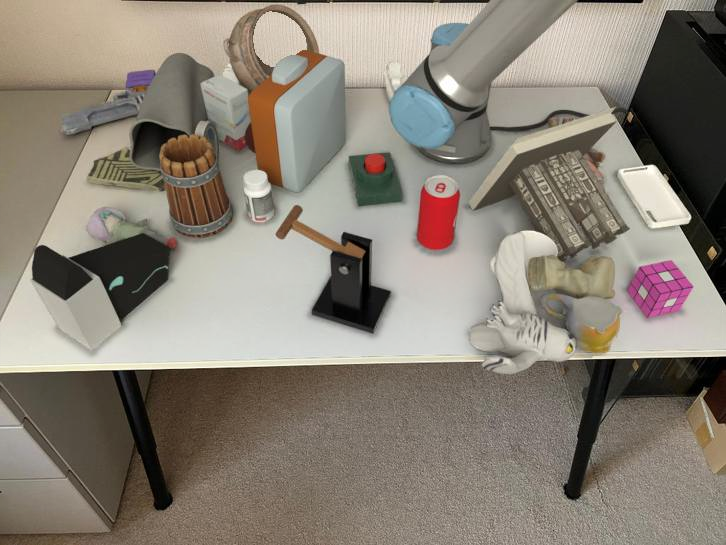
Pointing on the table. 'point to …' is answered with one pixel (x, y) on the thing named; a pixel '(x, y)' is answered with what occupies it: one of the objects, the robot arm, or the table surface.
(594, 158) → the figurine
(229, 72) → the toy car
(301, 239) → the table surface
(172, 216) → the mug
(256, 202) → the pill bottle
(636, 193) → the phone case
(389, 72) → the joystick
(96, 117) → the handgun
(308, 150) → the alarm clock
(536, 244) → the cup
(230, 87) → the ink box
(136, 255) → the decorative object
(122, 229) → the toy
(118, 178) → the pottery shard
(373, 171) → the button
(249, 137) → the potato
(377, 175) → the button box
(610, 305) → the mug
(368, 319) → the bracket
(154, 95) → the vase
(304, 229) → the lever
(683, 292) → the puzzle toy
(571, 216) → the building model
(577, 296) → the sculpture
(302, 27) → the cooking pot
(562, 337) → the toy
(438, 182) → the beverage can
